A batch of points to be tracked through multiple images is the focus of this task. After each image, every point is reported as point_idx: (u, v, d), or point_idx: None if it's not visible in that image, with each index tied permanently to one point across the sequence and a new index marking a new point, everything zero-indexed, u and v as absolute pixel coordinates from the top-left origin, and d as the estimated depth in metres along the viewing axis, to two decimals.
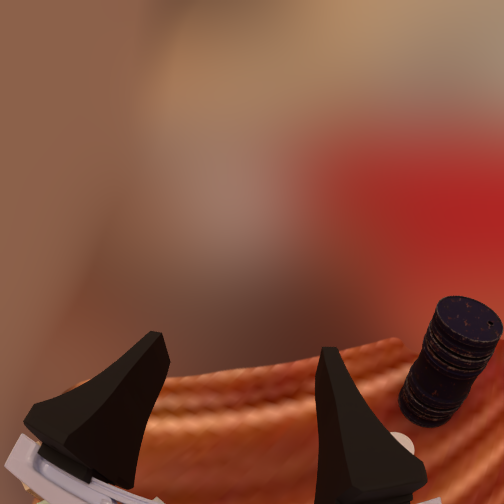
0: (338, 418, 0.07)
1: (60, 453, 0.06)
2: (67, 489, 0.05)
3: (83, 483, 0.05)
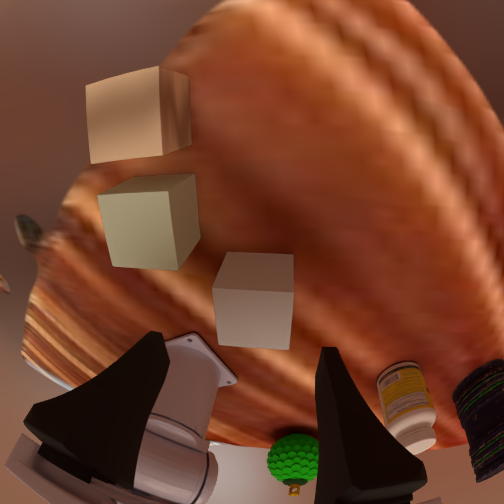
0: (338, 418, 0.07)
1: (60, 453, 0.06)
2: (67, 489, 0.05)
3: (83, 483, 0.05)
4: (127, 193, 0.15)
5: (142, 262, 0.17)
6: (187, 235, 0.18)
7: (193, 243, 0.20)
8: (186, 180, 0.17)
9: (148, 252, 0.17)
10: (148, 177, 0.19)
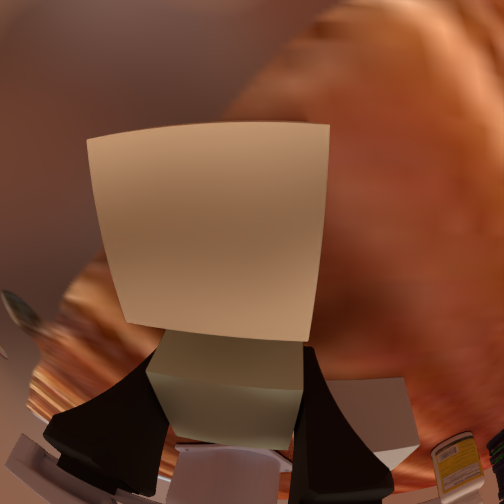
0: (305, 418, 0.07)
1: (82, 465, 0.06)
2: (67, 489, 0.05)
3: (83, 483, 0.05)
4: (213, 382, 0.08)
5: (230, 441, 0.10)
6: None
7: None
8: None
9: (243, 436, 0.09)
10: None
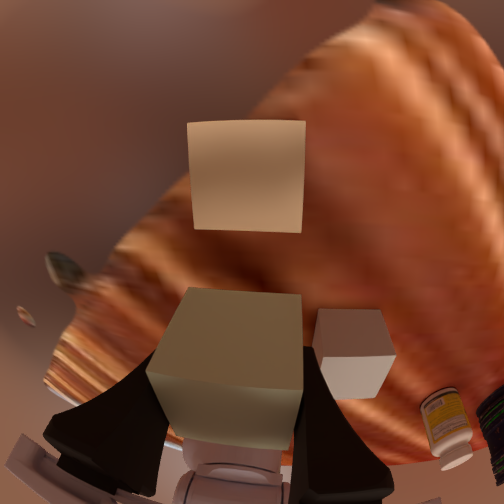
0: (305, 418, 0.07)
1: (82, 465, 0.06)
2: (67, 489, 0.05)
3: (83, 483, 0.05)
4: (213, 381, 0.08)
5: (230, 441, 0.10)
6: None
7: None
8: None
9: (243, 436, 0.09)
10: (219, 299, 0.12)
